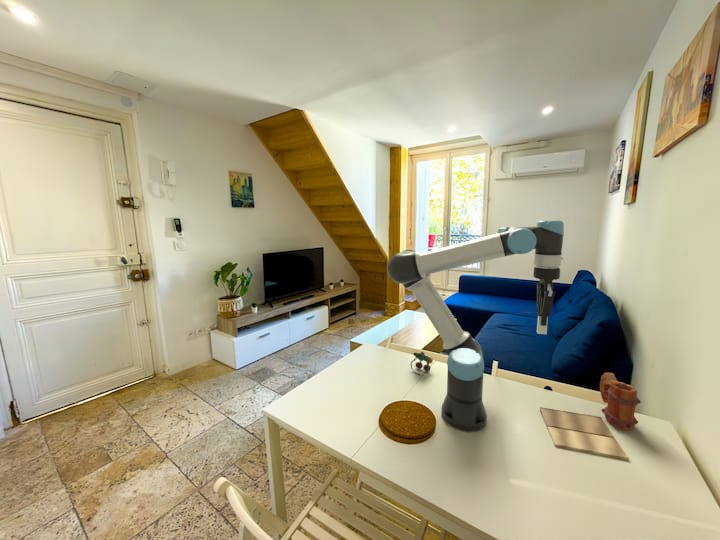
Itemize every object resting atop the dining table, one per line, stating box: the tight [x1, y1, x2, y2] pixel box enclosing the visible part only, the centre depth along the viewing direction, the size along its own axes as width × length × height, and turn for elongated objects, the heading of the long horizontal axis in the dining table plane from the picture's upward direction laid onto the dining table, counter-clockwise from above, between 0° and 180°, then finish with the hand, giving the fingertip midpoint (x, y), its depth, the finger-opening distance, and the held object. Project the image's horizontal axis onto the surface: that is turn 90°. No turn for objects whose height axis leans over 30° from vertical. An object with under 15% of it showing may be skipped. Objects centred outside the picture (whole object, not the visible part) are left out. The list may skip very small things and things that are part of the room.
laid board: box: [546, 426, 630, 461], centre depth 89 cm, size 18×8×2 cm, turn 71°
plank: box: [539, 406, 615, 438], centre depth 97 cm, size 18×9×2 cm, turn 71°
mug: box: [599, 372, 641, 431], centre depth 99 cm, size 15×8×15 cm, turn 168°
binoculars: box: [410, 351, 434, 375], centre depth 134 cm, size 9×9×10 cm
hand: (541, 333), depth 101 cm, fingers closed
